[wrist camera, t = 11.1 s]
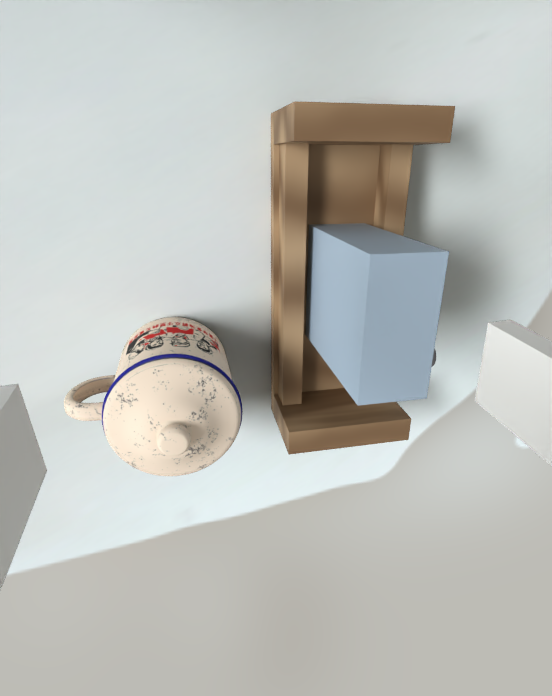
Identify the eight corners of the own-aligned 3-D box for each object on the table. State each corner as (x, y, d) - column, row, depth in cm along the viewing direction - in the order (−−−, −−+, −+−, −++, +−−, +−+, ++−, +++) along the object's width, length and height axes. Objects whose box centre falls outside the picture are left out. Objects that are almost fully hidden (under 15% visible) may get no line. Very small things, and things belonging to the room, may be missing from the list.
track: (271, 113, 31) (294, 101, 25) (402, 116, 33) (455, 106, 27) (271, 408, 41) (288, 454, 34) (373, 398, 43) (408, 439, 36)
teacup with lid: (228, 310, 36) (249, 371, 26) (230, 407, 40) (248, 496, 29) (71, 316, 34) (24, 386, 23) (88, 419, 37) (52, 519, 27)
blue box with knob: (308, 224, 34) (370, 254, 23) (376, 222, 35) (465, 251, 24) (305, 334, 37) (357, 405, 27) (366, 330, 38) (441, 396, 28)
